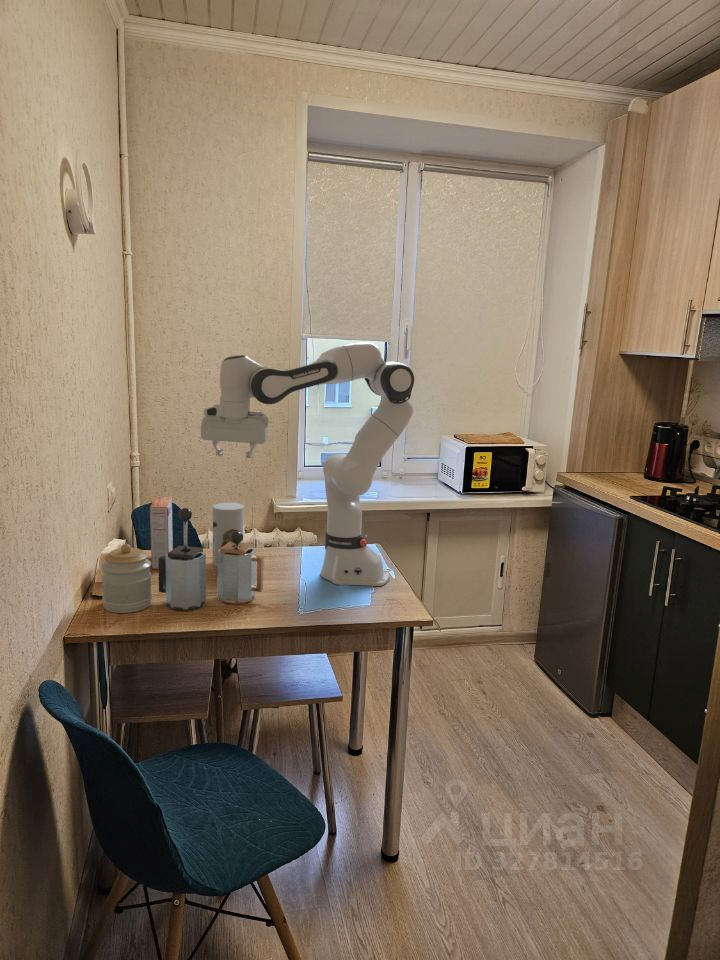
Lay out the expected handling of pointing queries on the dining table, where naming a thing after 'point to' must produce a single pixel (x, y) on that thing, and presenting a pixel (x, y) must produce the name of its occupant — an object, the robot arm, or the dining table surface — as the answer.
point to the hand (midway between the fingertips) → (234, 456)
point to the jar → (126, 580)
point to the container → (225, 523)
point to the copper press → (238, 573)
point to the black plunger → (185, 524)
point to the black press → (183, 578)
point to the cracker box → (161, 528)
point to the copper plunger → (237, 538)
